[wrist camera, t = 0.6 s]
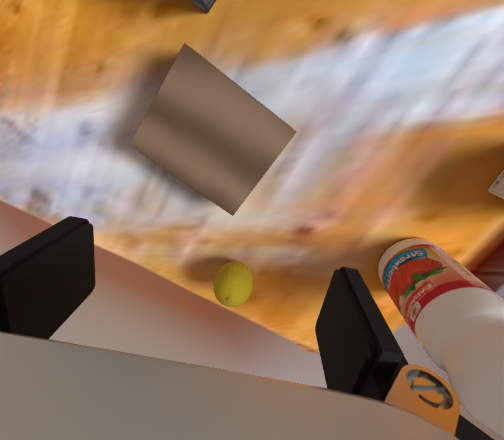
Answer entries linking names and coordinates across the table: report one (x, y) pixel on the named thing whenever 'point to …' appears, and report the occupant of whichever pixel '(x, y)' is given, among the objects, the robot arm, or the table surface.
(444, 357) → the fruit juice
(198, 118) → the walnut block
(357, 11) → the table surface
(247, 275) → the lemon
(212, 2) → the small box
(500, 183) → the supplement box
